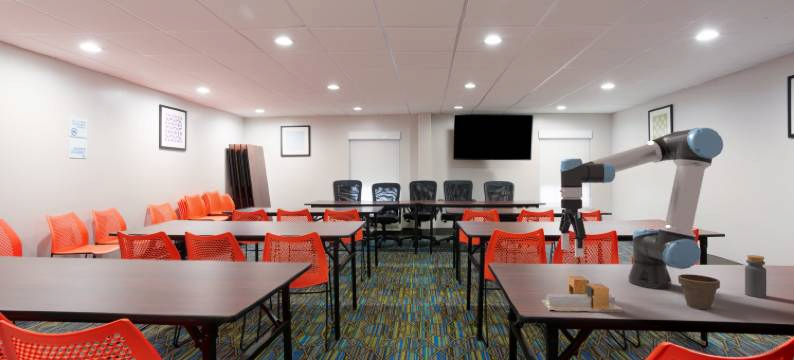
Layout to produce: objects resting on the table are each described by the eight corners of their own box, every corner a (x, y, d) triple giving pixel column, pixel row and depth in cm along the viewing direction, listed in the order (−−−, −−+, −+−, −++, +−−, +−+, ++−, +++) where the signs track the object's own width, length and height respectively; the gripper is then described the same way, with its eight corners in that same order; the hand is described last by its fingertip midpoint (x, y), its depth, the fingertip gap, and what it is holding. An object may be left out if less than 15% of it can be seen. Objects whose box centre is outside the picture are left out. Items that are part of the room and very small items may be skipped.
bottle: (760, 293, 142) (760, 255, 142) (770, 298, 137) (770, 258, 137) (741, 292, 144) (741, 254, 144) (750, 297, 139) (750, 257, 139)
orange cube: (583, 292, 146) (583, 276, 146) (589, 297, 141) (589, 280, 141) (568, 292, 147) (568, 275, 147) (574, 296, 141) (574, 279, 141)
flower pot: (686, 298, 138) (686, 271, 138) (725, 307, 128) (725, 278, 128) (672, 304, 131) (672, 276, 131) (712, 314, 122) (712, 284, 122)
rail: (608, 303, 134) (608, 282, 134) (622, 312, 125) (622, 290, 125) (540, 302, 135) (540, 281, 135) (549, 311, 126) (549, 289, 126)
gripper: (550, 196, 157) (551, 246, 157) (574, 200, 132) (574, 260, 132) (568, 196, 156) (569, 246, 156) (596, 200, 131) (596, 260, 132)
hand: (571, 253), depth 144 cm, fingers open, 13 cm apart
